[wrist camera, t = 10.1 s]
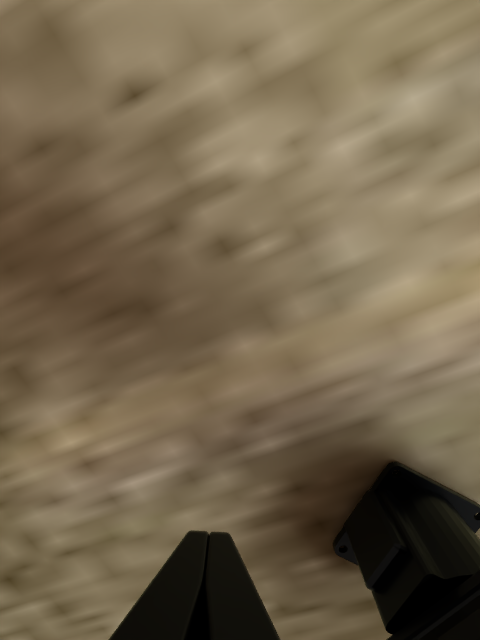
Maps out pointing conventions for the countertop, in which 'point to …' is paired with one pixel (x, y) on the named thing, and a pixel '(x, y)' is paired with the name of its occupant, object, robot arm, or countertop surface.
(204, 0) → the countertop surface
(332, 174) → the countertop surface
